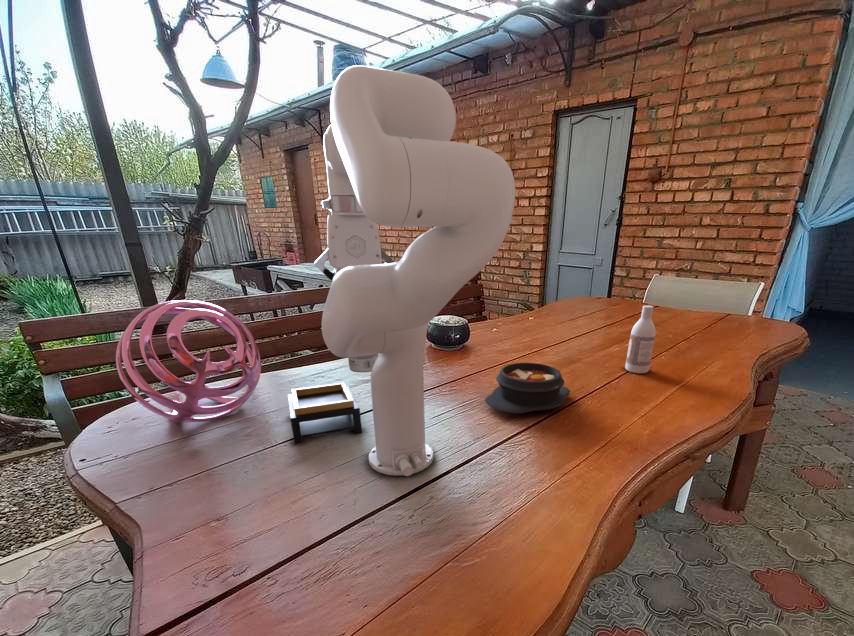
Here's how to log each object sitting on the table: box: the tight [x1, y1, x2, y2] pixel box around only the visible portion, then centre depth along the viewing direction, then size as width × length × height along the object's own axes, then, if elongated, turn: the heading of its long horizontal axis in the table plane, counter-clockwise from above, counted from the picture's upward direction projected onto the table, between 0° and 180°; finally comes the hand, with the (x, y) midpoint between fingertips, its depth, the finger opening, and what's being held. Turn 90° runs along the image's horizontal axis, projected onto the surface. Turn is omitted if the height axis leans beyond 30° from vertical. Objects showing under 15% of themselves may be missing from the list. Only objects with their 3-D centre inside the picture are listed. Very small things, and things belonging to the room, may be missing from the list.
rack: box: [286, 382, 363, 445], centre depth 95 cm, size 14×14×8 cm
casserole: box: [484, 362, 571, 415], centre depth 108 cm, size 25×19×8 cm
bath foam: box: [624, 304, 657, 374], centre depth 129 cm, size 7×7×20 cm
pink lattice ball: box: [115, 299, 262, 423], centre depth 98 cm, size 28×28×27 cm
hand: (358, 300), depth 89 cm, fingers closed on spray can, 6 cm apart
